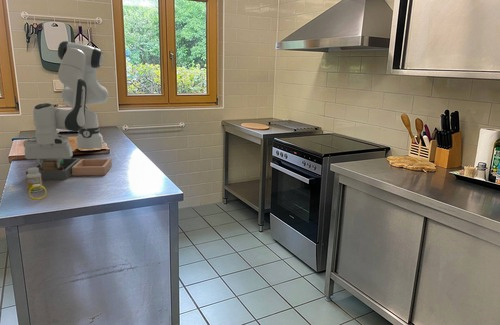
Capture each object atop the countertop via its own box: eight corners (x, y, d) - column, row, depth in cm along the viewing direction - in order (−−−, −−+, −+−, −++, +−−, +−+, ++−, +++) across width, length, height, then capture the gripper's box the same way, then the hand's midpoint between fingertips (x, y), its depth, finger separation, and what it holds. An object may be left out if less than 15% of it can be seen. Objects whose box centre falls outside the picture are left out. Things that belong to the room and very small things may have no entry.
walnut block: (47, 169, 177) (46, 159, 176) (58, 169, 178) (57, 159, 177) (43, 172, 172) (41, 162, 171) (54, 172, 173) (53, 162, 172)
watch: (30, 201, 144) (27, 187, 143) (30, 199, 147) (27, 185, 145) (47, 198, 147) (44, 184, 145) (47, 196, 149) (44, 182, 148)
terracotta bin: (82, 166, 192) (81, 159, 191) (112, 166, 195) (111, 158, 194) (72, 175, 177) (71, 167, 176) (105, 174, 179) (104, 166, 178)
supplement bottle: (34, 188, 159) (31, 166, 156) (45, 188, 158) (43, 167, 156) (25, 192, 154) (22, 169, 151) (37, 193, 153) (34, 170, 151)
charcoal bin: (46, 166, 192) (45, 158, 191) (81, 165, 194) (80, 158, 193) (26, 180, 169) (25, 171, 168) (66, 179, 171) (65, 171, 170)
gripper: (19, 140, 167) (24, 169, 170) (67, 140, 170) (70, 169, 173) (25, 137, 173) (29, 166, 176) (72, 137, 176) (75, 165, 179)
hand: (50, 167), depth 175 cm, fingers closed on walnut block, 5 cm apart
